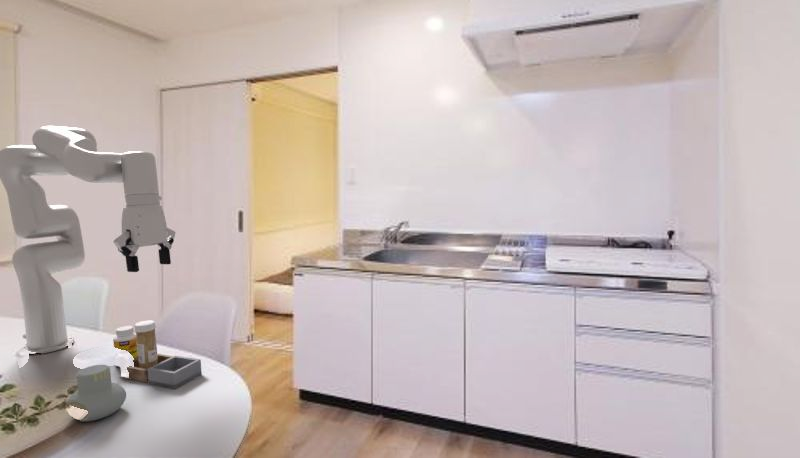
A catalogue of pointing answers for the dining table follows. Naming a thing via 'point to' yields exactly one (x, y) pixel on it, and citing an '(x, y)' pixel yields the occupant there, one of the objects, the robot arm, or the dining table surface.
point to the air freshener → (97, 393)
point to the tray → (174, 372)
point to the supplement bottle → (126, 340)
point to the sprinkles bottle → (146, 344)
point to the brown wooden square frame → (141, 373)
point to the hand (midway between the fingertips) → (150, 267)
